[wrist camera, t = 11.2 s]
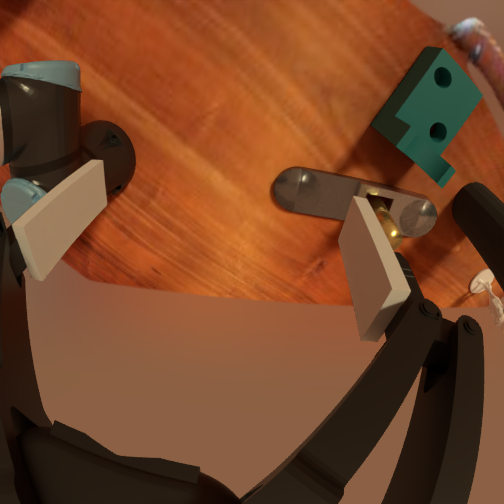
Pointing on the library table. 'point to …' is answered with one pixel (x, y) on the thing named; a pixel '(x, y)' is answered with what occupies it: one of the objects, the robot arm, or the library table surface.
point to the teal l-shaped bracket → (429, 111)
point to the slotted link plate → (341, 193)
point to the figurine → (495, 306)
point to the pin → (385, 220)
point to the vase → (482, 224)
